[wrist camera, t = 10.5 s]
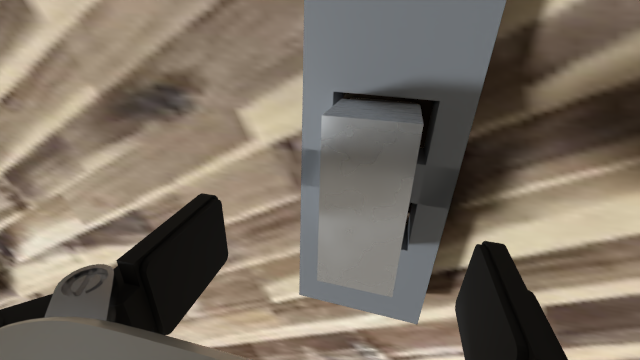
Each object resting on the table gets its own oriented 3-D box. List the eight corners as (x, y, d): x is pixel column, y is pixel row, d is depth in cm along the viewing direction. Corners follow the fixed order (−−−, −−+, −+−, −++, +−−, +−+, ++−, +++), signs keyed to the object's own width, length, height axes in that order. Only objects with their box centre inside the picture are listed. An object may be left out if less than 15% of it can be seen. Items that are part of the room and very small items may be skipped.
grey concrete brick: (352, 89, 19) (321, 115, 12) (418, 93, 18) (423, 124, 11) (343, 210, 22) (317, 280, 16) (397, 219, 22) (392, 297, 15)
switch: (321, -36, 16) (305, -51, 14) (501, -38, 14) (521, -56, 12) (310, 269, 26) (299, 294, 23) (416, 293, 24) (417, 324, 21)
